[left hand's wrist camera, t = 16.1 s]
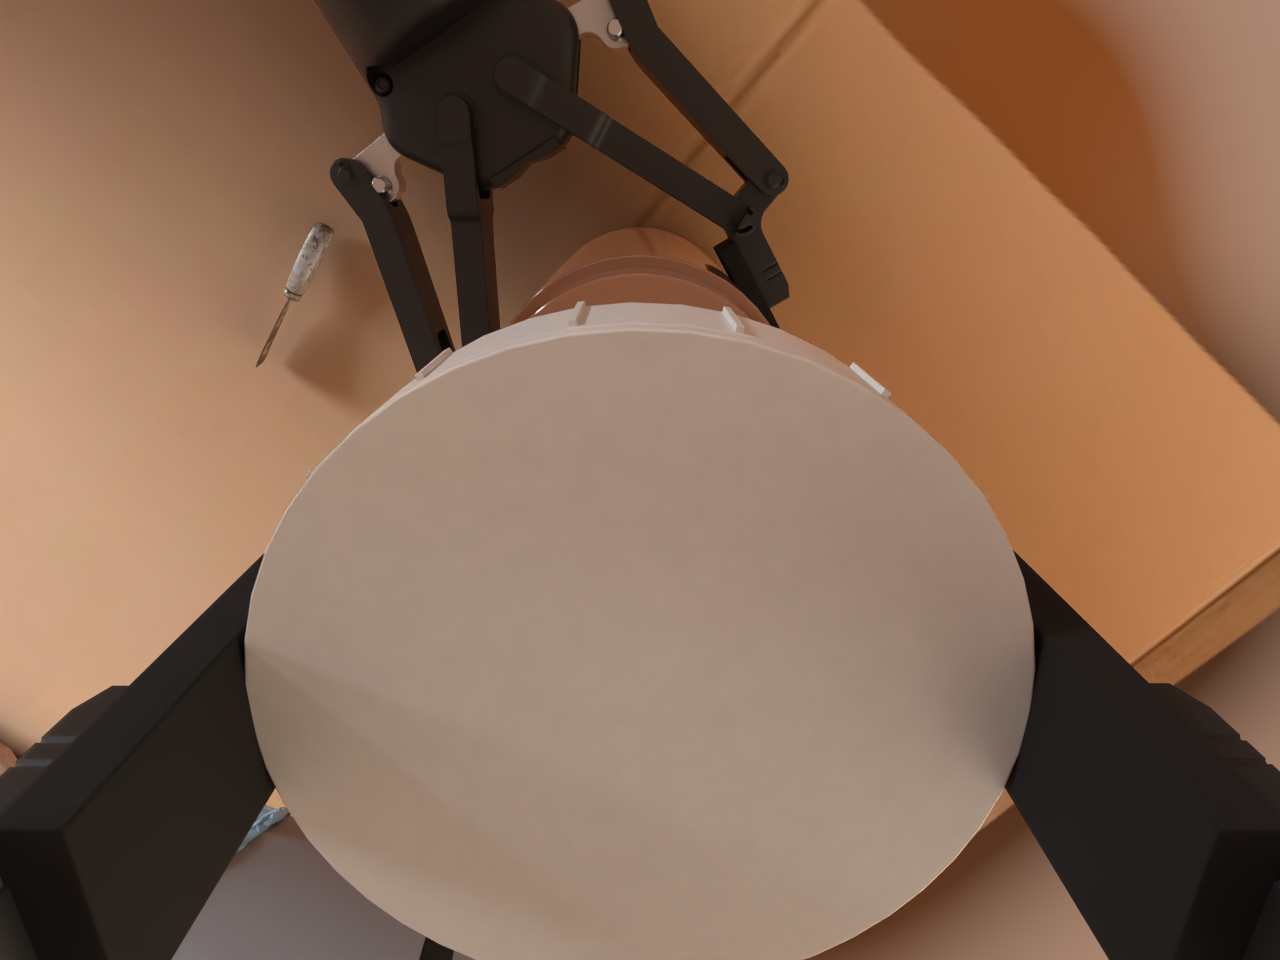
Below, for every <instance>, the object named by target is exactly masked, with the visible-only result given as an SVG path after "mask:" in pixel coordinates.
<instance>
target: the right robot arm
mask: <svg viewBox="0 0 1280 960" xmlns="http://www.w3.org/2000/svg"><path fill="white" fill-rule="evenodd" d="M315 2H316V4H317V5H318V7H319V8H320V10H321V11H322V13H323V15H324V16H325V18H326V19H327V21H328V23H329V24H330V26H331V27H332V29H333V30H334V32H335V34H336V35H337V37H338V38H339V40H340V42H341V43H342V45H343V46H344V48H345V49H346V51H347V53H348V54H349V56H350V57H351V59H352V61H353V62H354V64H355V65H356V67H357V68H358V70H359V72H360V73H361V75H362V76H363V78H364V79H365V81H366V83H367V84H368V86H369V87H370V89H371V91H372V92H373V94H374V95H375V97H376V99H377V101H378V104H379V107H380V110H381V114H382V121H383V129H384V134H382V135H381V136H380V137H379V138H377V139H376V140H375V141H374V142H372V143H371V144H370V145H369V146H367V147H366V148H365V149H364V150H363V151H361V152H360V153H359V154H358V155H356V156H355V157H354V158H351V159H348V158H340V159H338V160H336V161H335V162H334V163H333V164H332V165H331V169H330V176H331V180H332V181H333V183H334V185H335V186H336V188H337V189H338V190H339V191H340V193H341V194H342V195H343V197H344V198H345V199H346V201H347V202H348V203H349V205H350V206H351V207H352V208H353V210H354V211H355V212H356V214H357V215H358V216H359V218H360V219H361V220H362V222H363V224H364V227H365V230H366V232H367V235H368V238H369V241H370V244H371V246H372V249H373V252H374V255H375V257H376V260H377V263H378V266H379V268H380V271H381V274H382V277H383V280H384V282H385V285H386V288H387V291H388V293H389V296H390V299H391V302H392V304H393V307H394V310H395V313H396V316H397V318H398V321H399V324H400V327H401V329H402V332H403V335H404V338H405V340H406V343H407V346H408V349H409V352H410V354H411V357H412V360H413V363H414V365H415V368H416V371H417V373H418V372H419V371H420V370H421V369H423V368H424V367H425V366H426V365H427V364H429V363H430V362H431V361H432V360H433V359H434V358H436V357H437V356H438V355H439V354H440V353H442V352H443V351H444V350H446V349H447V348H449V347H450V349H451V350H452V352H455V348H454V345H453V342H452V339H451V336H450V333H449V330H448V327H447V324H446V321H445V318H444V315H443V312H442V309H441V306H440V304H439V301H438V298H437V295H436V292H435V289H434V286H433V283H432V280H431V277H430V274H429V271H428V268H427V265H426V262H425V259H424V256H423V253H422V250H421V247H420V245H419V242H418V239H417V236H416V233H415V230H414V227H413V224H412V221H411V219H410V216H409V214H408V212H407V210H406V208H405V206H404V204H403V202H402V201H401V198H402V196H403V195H404V193H405V190H406V184H405V181H404V178H403V176H402V172H401V166H402V162H403V160H404V159H405V158H406V157H407V158H409V159H411V160H413V161H415V162H418V163H420V164H422V165H424V166H426V167H428V168H431V169H433V170H435V171H437V172H439V173H442V174H444V184H445V195H446V206H447V213H448V217H449V219H450V221H451V227H452V239H453V250H454V261H455V272H456V283H457V294H458V305H459V317H460V328H461V339H462V347H464V346H466V345H468V344H469V343H471V342H473V341H475V340H477V339H479V338H480V337H482V336H484V335H487V334H490V333H492V332H495V331H498V330H500V320H499V306H498V292H497V278H496V264H495V250H494V236H493V211H494V207H493V192H492V189H500V188H505V187H506V186H508V185H509V184H511V183H512V182H514V181H515V180H517V179H518V178H519V177H520V176H521V175H522V174H523V173H524V172H525V170H526V169H527V168H528V167H529V166H530V165H531V164H532V163H535V162H538V161H542V160H545V159H549V158H551V157H553V156H554V155H556V154H557V153H559V152H560V151H562V150H564V149H565V148H566V147H565V145H566V144H567V143H568V142H569V140H570V139H571V137H572V134H573V135H574V136H576V137H577V138H579V139H581V140H582V141H584V142H585V143H587V144H589V145H590V146H592V147H593V148H595V149H597V150H598V151H600V152H602V153H603V154H605V155H606V156H608V157H610V158H611V159H613V160H614V161H616V162H618V163H619V164H621V165H622V166H624V167H626V168H627V169H629V170H630V171H632V172H634V173H635V174H637V175H638V176H640V177H642V178H643V179H645V180H646V181H648V182H650V183H651V184H653V185H654V186H656V187H658V188H659V189H661V190H662V191H664V192H666V193H667V194H669V195H670V196H672V197H674V198H675V199H677V200H678V201H680V202H682V203H683V204H685V205H687V206H688V207H690V208H691V209H693V210H695V211H696V212H698V213H699V214H701V215H703V216H704V217H706V218H707V219H709V220H711V221H712V222H714V223H715V224H717V225H719V226H720V227H722V228H723V229H724V230H725V232H726V234H727V236H728V239H726V240H724V241H723V242H721V243H719V244H718V245H716V246H714V247H713V248H714V250H715V252H716V254H717V256H718V257H719V259H720V261H721V263H722V265H723V267H724V269H725V271H726V273H727V275H728V277H729V278H730V279H731V281H732V282H733V283H734V284H735V285H736V286H737V287H738V288H739V289H740V290H741V291H742V292H743V293H744V294H745V295H746V296H747V297H748V299H749V300H750V301H751V302H752V303H753V304H754V305H755V306H756V307H757V308H758V309H759V311H760V312H761V313H762V315H763V316H764V317H765V319H766V320H767V321H768V323H769V324H770V326H772V327H776V328H779V326H778V324H777V322H776V320H775V318H774V316H773V314H772V312H771V310H770V308H771V307H773V306H775V305H776V304H778V303H780V302H782V301H783V300H785V299H787V298H789V289H788V283H787V281H786V279H785V277H784V275H783V273H782V271H781V269H780V267H779V265H778V263H777V261H776V259H775V257H774V255H773V253H772V251H771V249H770V247H769V245H768V243H767V241H766V239H765V237H764V235H763V232H762V229H761V218H762V215H763V213H764V212H765V210H766V209H767V208H768V206H769V205H770V204H771V203H772V202H773V200H774V199H775V198H776V197H777V196H778V195H779V194H780V193H782V192H783V191H784V190H785V188H786V187H787V184H788V180H789V178H788V173H787V171H786V169H785V168H784V166H783V165H782V164H781V163H780V162H779V161H778V160H777V159H776V158H775V156H774V155H773V154H772V153H771V152H770V151H769V150H768V149H767V148H766V146H765V145H764V144H763V143H762V142H761V141H760V140H759V139H758V138H757V136H756V135H755V134H754V133H753V132H752V131H751V130H750V129H749V128H748V126H747V125H746V124H745V123H744V122H743V121H742V120H741V119H740V118H739V116H738V115H737V114H736V113H735V112H734V111H733V110H732V109H731V108H730V106H729V105H728V104H727V103H726V102H725V101H724V100H723V99H722V98H721V96H720V95H719V94H718V93H717V92H716V91H715V90H714V89H713V88H712V86H711V85H710V84H709V83H708V82H707V81H706V80H705V79H704V78H703V76H702V75H701V74H700V73H699V72H698V71H697V70H696V69H695V68H694V66H693V65H692V64H691V63H690V62H689V61H688V60H687V59H686V58H685V56H684V55H683V54H682V53H681V52H680V51H679V50H678V49H677V48H676V46H675V45H674V44H673V43H672V42H671V41H670V40H669V39H668V38H667V36H666V35H665V34H664V33H663V32H662V31H661V30H660V29H659V28H658V26H657V24H656V21H655V19H654V17H653V14H652V12H651V9H650V7H649V5H648V2H647V0H581V1H579V2H577V3H575V4H574V5H572V6H570V7H568V8H566V7H565V6H564V5H563V4H561V3H560V2H558V1H557V0H315ZM586 37H593V38H596V39H598V40H599V41H601V43H602V44H603V45H604V46H605V48H606V49H607V50H609V51H610V52H613V53H620V52H623V51H625V50H627V49H628V51H629V53H630V54H631V56H632V57H633V59H634V60H635V62H636V63H637V65H638V66H639V67H640V68H641V70H642V71H643V72H644V73H645V74H646V75H647V76H648V77H649V79H650V80H651V81H652V82H653V83H654V84H655V85H656V86H657V87H658V88H659V89H660V90H661V92H662V93H663V94H664V95H665V96H666V97H667V98H668V99H669V100H670V101H671V102H672V103H673V105H674V106H675V107H676V108H677V109H678V110H679V111H680V112H681V113H682V114H683V115H684V116H685V118H686V119H687V120H688V121H689V122H690V123H691V124H692V125H693V126H694V127H695V128H696V130H697V131H698V132H699V133H700V134H701V135H702V136H703V137H704V138H705V139H706V140H707V141H708V143H709V144H710V145H711V146H712V147H713V148H714V149H715V150H716V151H717V152H718V153H719V154H720V156H721V157H722V158H723V159H724V160H725V161H726V162H727V163H728V164H729V165H730V166H731V167H732V169H733V170H734V171H735V172H736V173H737V174H738V175H739V176H740V177H741V178H742V179H743V180H744V182H745V183H744V184H743V185H742V186H741V187H740V189H739V190H738V191H737V192H736V194H735V195H734V196H733V195H731V194H729V193H728V192H726V191H725V190H723V189H722V188H720V187H718V186H717V185H715V184H714V183H712V182H711V181H709V180H707V179H706V178H704V177H703V176H701V175H699V174H698V173H696V172H695V171H693V170H692V169H690V168H688V167H687V166H685V165H684V164H682V163H681V162H679V161H677V160H676V159H674V158H673V157H671V156H670V155H668V154H666V153H665V152H663V151H662V150H660V149H659V148H657V147H655V146H654V145H652V144H651V143H649V142H648V141H646V140H644V139H643V138H641V137H640V136H638V135H637V134H635V133H633V132H632V131H630V130H629V129H627V128H626V127H624V126H622V125H621V124H619V123H618V122H616V121H615V120H613V119H611V118H610V117H609V116H607V115H606V114H604V113H603V112H601V111H600V110H598V109H597V108H595V107H594V106H592V105H591V104H589V103H587V102H586V101H584V100H583V99H581V98H580V97H578V96H577V94H578V79H579V63H580V48H581V39H583V38H586ZM779 329H780V328H779Z"/></svg>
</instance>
